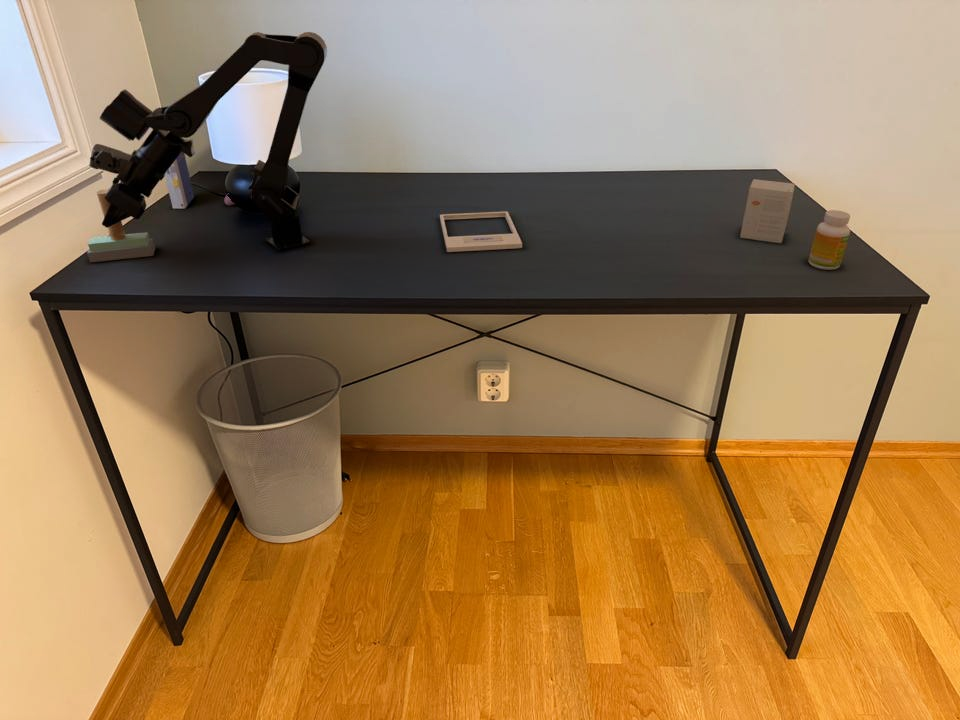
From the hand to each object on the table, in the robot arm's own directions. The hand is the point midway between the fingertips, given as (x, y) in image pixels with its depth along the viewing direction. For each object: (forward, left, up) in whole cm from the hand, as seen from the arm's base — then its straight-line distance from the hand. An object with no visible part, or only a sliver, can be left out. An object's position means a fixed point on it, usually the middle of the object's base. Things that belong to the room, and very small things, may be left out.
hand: (105, 223), depth 127 cm
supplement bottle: (-84, -103, -7) cm, 133 cm away
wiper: (0, -1, -7) cm, 7 cm away
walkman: (+23, -20, -7) cm, 31 cm away
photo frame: (-33, -62, -7) cm, 70 cm away
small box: (-69, -106, -7) cm, 127 cm away
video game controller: (+16, -32, -7) cm, 36 cm away
